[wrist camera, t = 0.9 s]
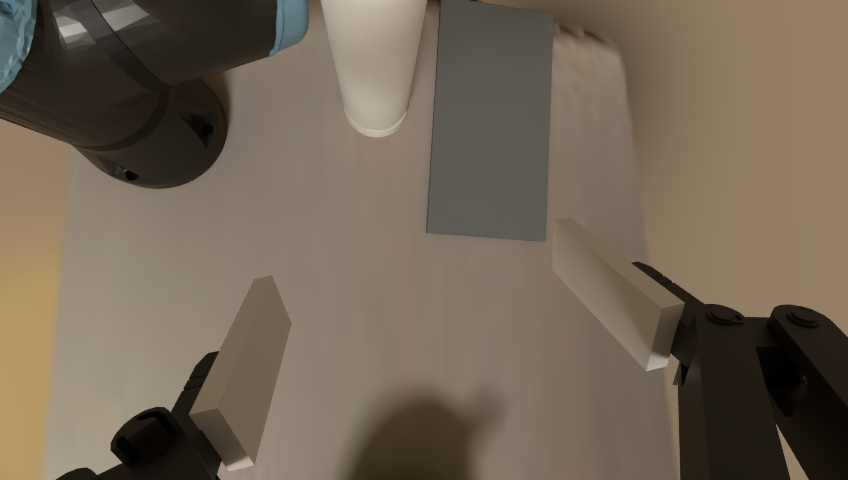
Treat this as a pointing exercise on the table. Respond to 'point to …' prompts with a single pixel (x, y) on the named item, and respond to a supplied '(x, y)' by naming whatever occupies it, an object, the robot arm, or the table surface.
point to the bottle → (374, 58)
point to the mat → (491, 122)
